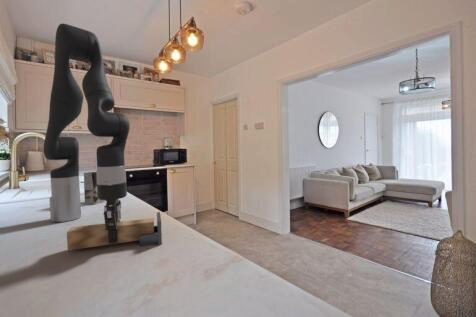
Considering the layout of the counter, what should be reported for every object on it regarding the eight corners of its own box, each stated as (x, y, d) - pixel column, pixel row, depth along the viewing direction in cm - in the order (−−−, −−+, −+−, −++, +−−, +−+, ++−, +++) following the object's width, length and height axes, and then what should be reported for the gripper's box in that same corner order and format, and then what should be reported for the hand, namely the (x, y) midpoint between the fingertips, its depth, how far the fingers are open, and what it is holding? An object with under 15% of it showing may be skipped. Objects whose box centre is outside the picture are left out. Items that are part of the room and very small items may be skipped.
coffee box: (95, 204, 117) (93, 172, 116) (84, 204, 118) (82, 172, 118) (108, 200, 126) (107, 170, 125) (98, 200, 127) (97, 170, 127)
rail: (67, 250, 63) (66, 232, 62) (72, 244, 66) (71, 227, 66) (154, 238, 70) (153, 221, 70) (154, 233, 74) (153, 217, 74)
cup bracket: (139, 247, 66) (138, 223, 66) (141, 235, 75) (140, 214, 75) (161, 244, 68) (161, 221, 68) (160, 232, 77) (159, 212, 77)
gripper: (102, 179, 73) (104, 232, 74) (90, 186, 59) (94, 251, 60) (128, 177, 75) (130, 229, 76) (123, 184, 62) (126, 247, 63)
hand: (114, 239), depth 68 cm, fingers closed on rail, 4 cm apart
